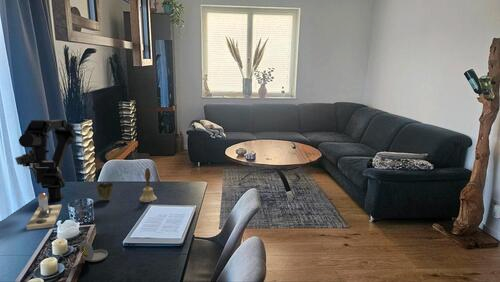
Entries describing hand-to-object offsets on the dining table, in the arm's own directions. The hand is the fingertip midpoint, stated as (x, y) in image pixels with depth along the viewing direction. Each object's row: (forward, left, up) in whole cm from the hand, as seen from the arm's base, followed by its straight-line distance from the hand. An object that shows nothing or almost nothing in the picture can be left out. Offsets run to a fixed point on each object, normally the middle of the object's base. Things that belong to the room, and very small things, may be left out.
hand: (38, 183), depth 145 cm
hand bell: (-8, +45, -13) cm, 48 cm away
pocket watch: (+44, +33, -13) cm, 56 cm away
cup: (-9, +25, -13) cm, 30 cm away
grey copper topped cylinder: (+9, +5, -11) cm, 15 cm away
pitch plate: (+8, +5, -13) cm, 16 cm away
